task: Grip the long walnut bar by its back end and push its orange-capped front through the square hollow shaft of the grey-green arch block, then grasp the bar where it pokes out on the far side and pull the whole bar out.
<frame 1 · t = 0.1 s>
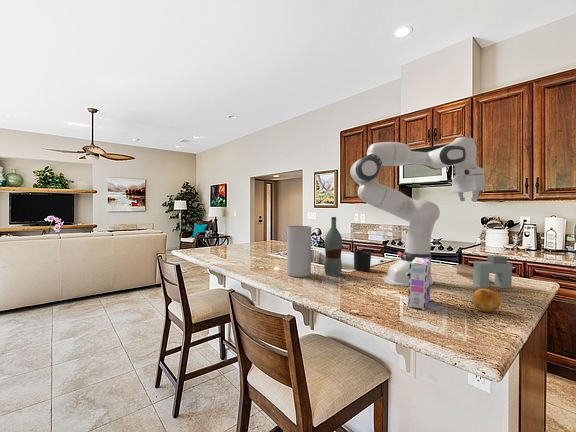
hand: (468, 201, 141), 39 cm above the countertop, tool pointing down, fingers open, 8 cm apart
candy box: (419, 304, 112), on the countertop
fruit: (485, 311, 105), on the countertop
pen holder: (362, 270, 168), on the countertop
bar: (471, 278, 151), on the countertop
bottle: (332, 274, 157), on the countertop
cylinder vase: (298, 274, 155), on the countertop
grey-green arch block: (491, 286, 136), on the countertop
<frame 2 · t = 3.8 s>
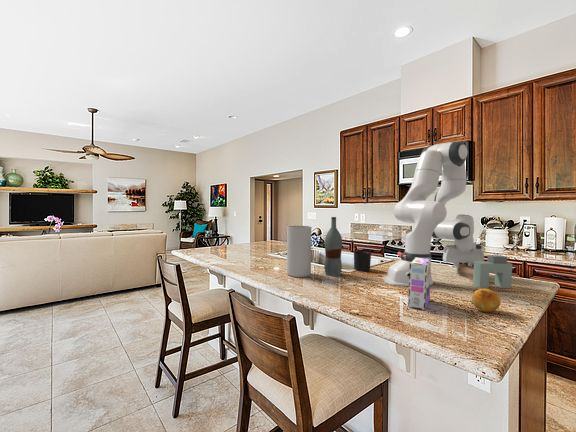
hand: (462, 270, 159), 2 cm above the countertop, tool pointing down, fingers closed on bar, 4 cm apart
bar: (471, 278, 151), on the countertop, touching gripper
everything else where it was.
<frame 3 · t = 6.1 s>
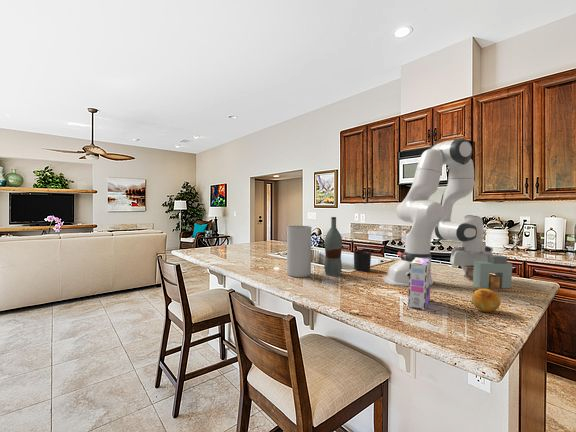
hand: (471, 274, 152), 2 cm above the countertop, tool pointing down, fingers closed on bar, 4 cm apart
bar: (480, 281, 144), on the countertop, touching gripper
everything else where it was.
when the fingers open (2 cm above the countertop, at t = 17.5 s): bar stays where it is, on the countertop.
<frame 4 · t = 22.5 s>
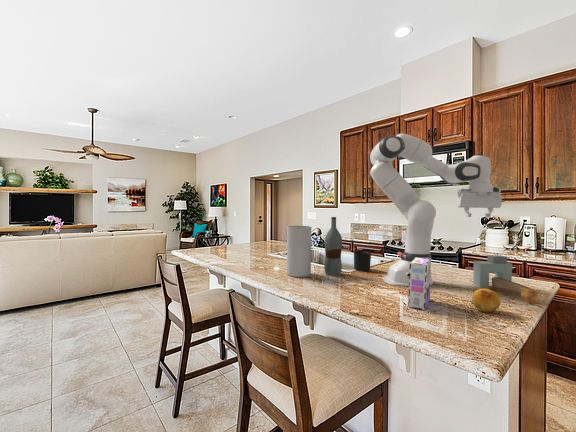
hand: (478, 217, 147), 31 cm above the countertop, tool pointing down, fingers open, 8 cm apart
bar: (512, 295, 124), on the countertop
everything else where it was.
at the end: bar inside the target area (5.3 cm from its centre), on the countertop; bar touching countertop; the gripper is holding nothing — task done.
